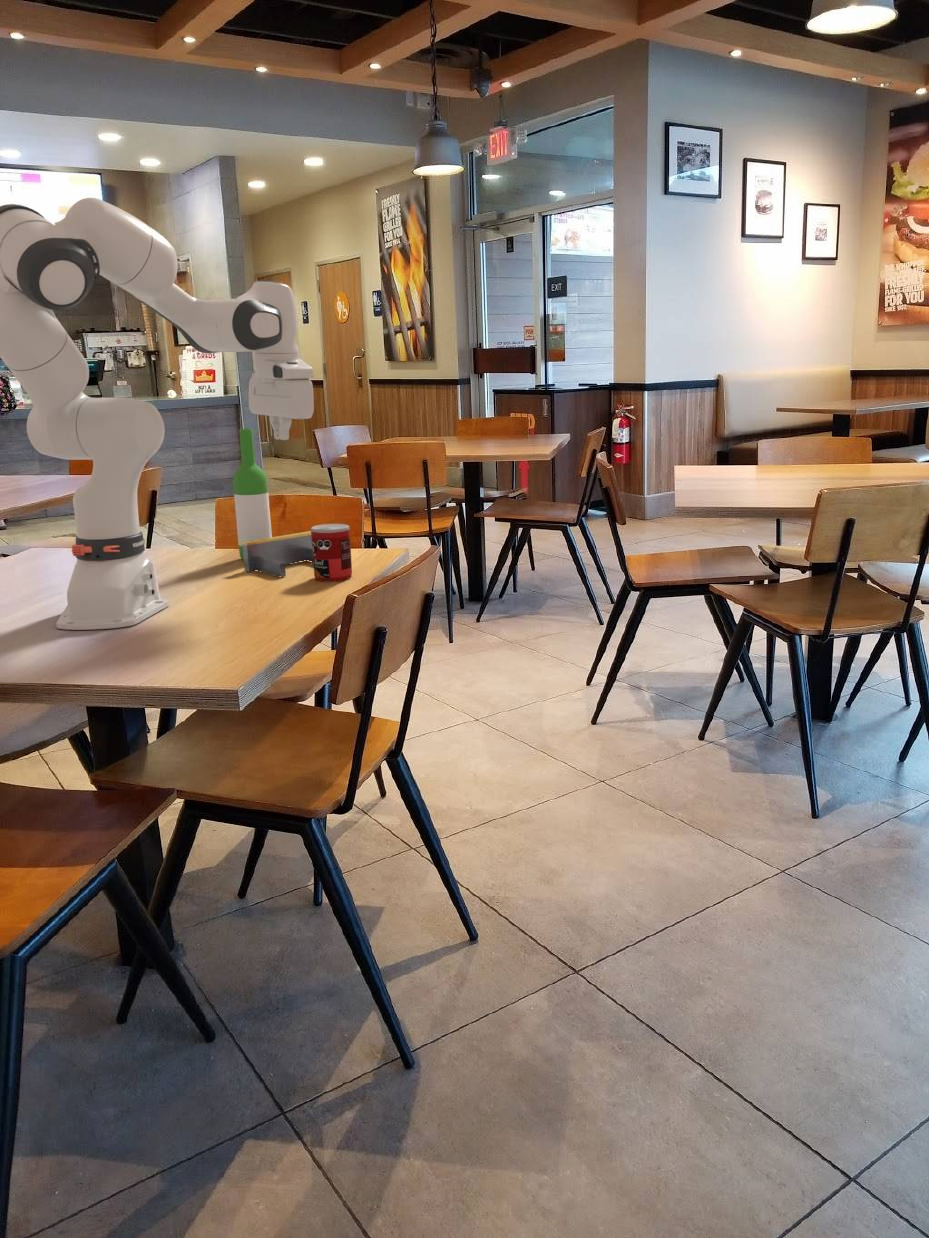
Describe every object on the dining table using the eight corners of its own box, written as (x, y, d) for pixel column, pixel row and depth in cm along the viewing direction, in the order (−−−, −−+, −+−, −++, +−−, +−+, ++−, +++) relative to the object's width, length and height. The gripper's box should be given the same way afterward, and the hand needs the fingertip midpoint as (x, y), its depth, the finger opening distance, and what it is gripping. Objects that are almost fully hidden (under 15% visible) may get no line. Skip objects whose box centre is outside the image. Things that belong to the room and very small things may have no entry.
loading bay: (343, 565, 214) (341, 536, 213) (273, 578, 203) (271, 548, 201) (312, 558, 223) (310, 530, 221) (244, 571, 211) (242, 542, 209)
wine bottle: (257, 554, 230) (246, 427, 222) (280, 557, 225) (270, 428, 217) (232, 560, 223) (220, 430, 216) (256, 563, 219) (244, 430, 211)
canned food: (310, 576, 204) (306, 525, 201) (345, 572, 207) (342, 522, 204) (320, 583, 197) (316, 531, 194) (357, 579, 200) (354, 527, 197)
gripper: (238, 367, 194) (243, 436, 198) (289, 370, 179) (293, 444, 183) (266, 366, 198) (270, 434, 202) (318, 369, 183) (321, 442, 187)
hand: (281, 439), depth 192 cm, fingers closed
